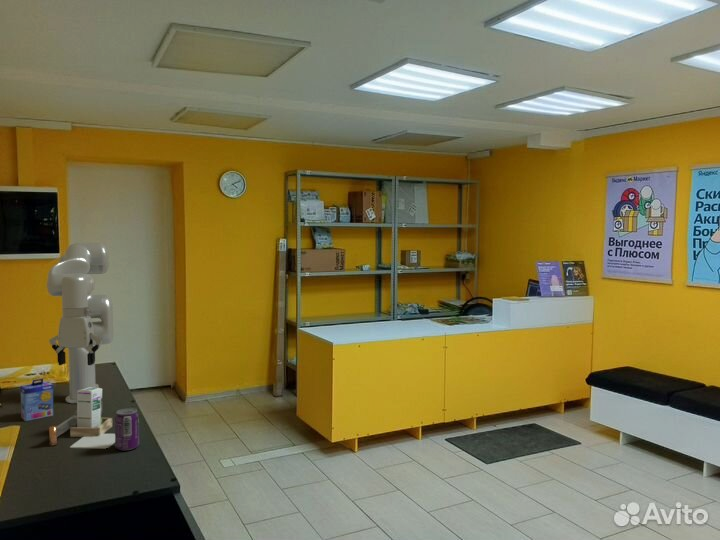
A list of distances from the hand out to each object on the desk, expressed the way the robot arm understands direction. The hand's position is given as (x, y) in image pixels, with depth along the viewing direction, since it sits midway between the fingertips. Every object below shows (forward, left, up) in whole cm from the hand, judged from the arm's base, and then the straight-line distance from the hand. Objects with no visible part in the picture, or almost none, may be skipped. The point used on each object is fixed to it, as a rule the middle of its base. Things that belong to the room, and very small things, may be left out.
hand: (76, 364), depth 189 cm
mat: (+3, +8, -25) cm, 26 cm away
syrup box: (-6, +1, -25) cm, 26 cm away
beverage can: (+8, +20, -25) cm, 33 cm away
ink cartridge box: (-20, -25, -25) cm, 41 cm away
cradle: (-6, +1, -25) cm, 26 cm away
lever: (-2, -5, -25) cm, 25 cm away
